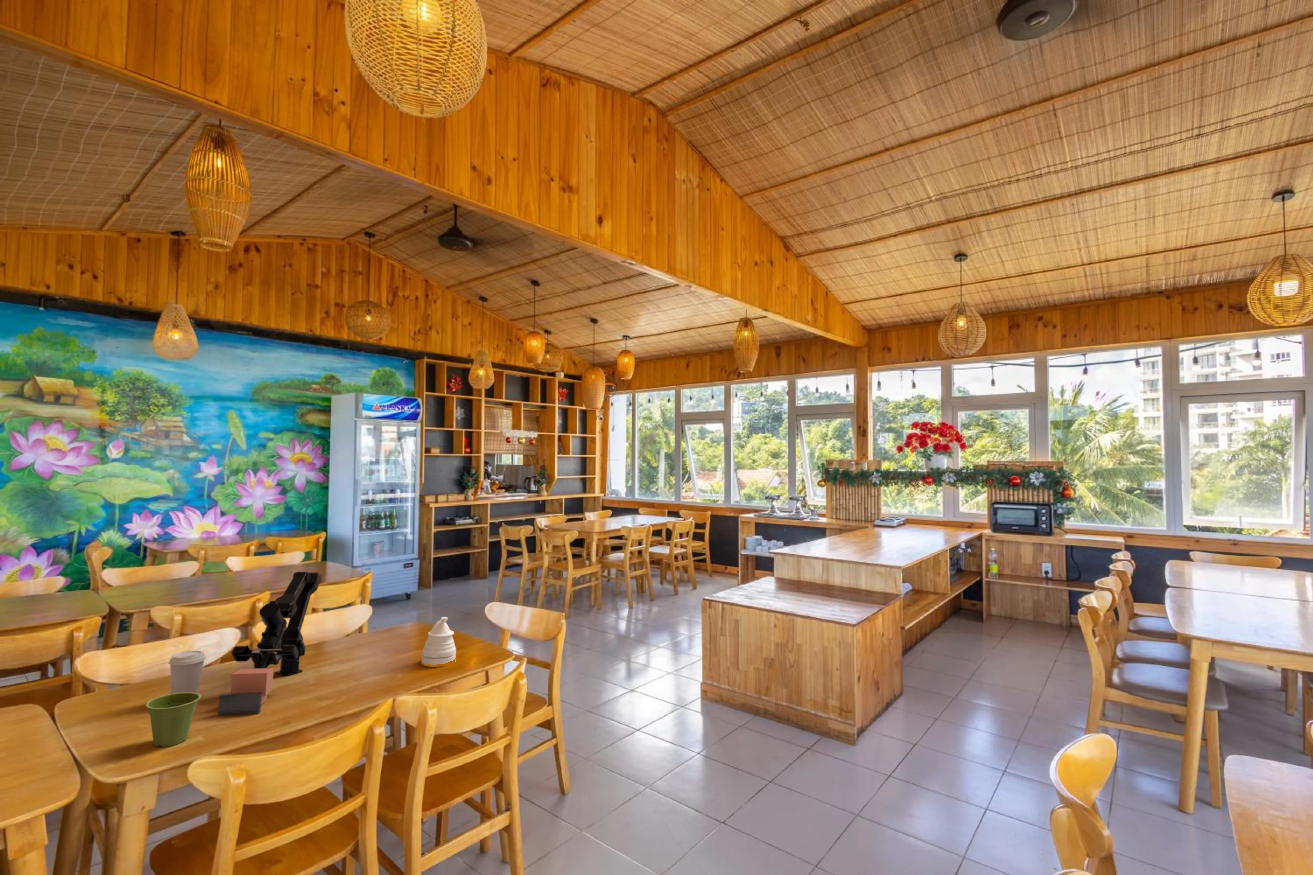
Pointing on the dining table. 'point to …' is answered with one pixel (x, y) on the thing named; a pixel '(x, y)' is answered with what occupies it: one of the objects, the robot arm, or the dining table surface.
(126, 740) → the dining table surface
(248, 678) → the reddish brown stepped block
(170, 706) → the plant pot
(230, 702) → the dark grey block
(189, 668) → the coffee cup
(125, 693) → the dining table surface
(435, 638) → the honey pot
